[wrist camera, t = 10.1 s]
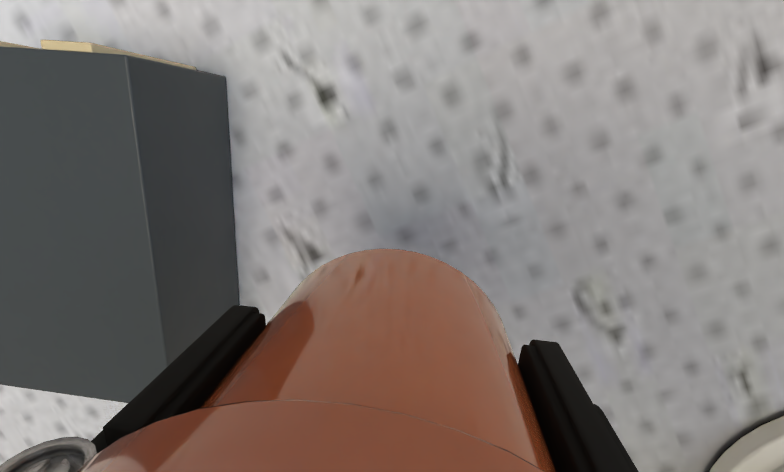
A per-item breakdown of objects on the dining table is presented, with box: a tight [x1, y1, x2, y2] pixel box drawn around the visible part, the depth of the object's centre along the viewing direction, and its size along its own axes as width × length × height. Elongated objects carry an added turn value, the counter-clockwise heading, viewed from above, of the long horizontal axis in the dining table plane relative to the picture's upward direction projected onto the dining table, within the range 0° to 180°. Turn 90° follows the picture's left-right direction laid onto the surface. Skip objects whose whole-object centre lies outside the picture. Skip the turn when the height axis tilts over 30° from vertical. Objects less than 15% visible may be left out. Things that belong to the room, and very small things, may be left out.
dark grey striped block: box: [0, 40, 239, 403], centre depth 17 cm, size 9×14×6 cm, turn 176°
